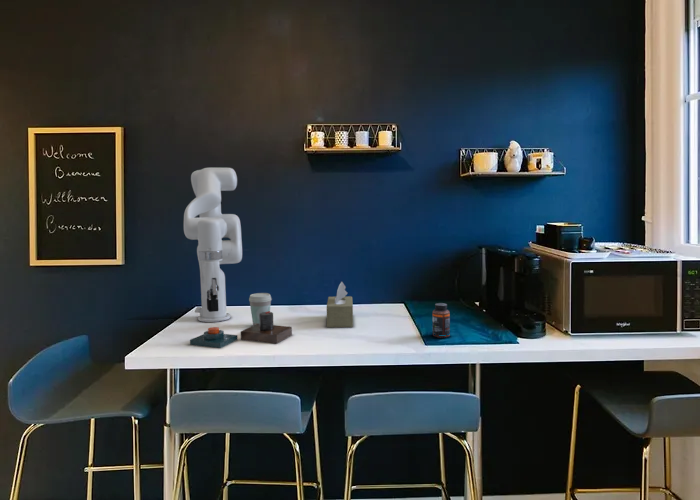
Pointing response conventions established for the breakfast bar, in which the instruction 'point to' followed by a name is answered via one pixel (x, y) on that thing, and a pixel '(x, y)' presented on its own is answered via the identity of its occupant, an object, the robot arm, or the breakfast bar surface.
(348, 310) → the tissue box
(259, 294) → the coffee cup
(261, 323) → the knob
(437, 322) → the supplement bottle
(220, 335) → the button box
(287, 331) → the panel
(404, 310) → the breakfast bar surface
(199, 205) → the robot arm
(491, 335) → the breakfast bar surface
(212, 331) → the button
